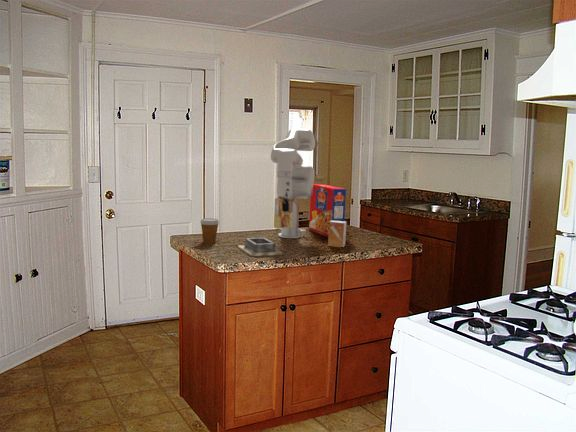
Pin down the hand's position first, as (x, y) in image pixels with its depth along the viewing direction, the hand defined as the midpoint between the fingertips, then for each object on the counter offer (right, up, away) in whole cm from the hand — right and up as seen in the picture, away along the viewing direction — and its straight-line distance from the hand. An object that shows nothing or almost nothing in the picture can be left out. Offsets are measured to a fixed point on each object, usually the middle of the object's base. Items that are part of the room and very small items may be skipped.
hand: (283, 209), depth 281 cm
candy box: (0, -9, +2) cm, 9 cm away
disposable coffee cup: (-38, -17, +4) cm, 42 cm away
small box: (+28, -19, +8) cm, 35 cm away
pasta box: (+25, -14, +43) cm, 52 cm away
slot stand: (-11, -20, -12) cm, 26 cm away
